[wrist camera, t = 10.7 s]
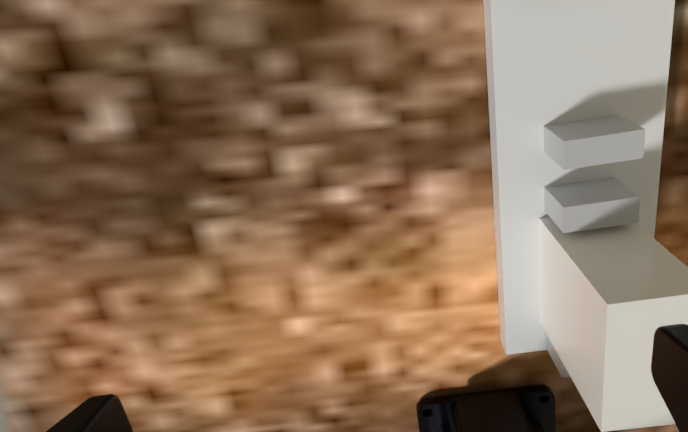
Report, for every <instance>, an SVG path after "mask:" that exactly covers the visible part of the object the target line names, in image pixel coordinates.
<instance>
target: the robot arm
mask: <svg viewBox="0 0 688 432" xmlns="http://www.w3.org/2000/svg"><path fill="white" fill-rule="evenodd" d="M651 372H652V377H653V380H654V382H655V384H656V386H657V388H658V390H659V392H660V394H661V396H662V398H663V400H664V402H665V404H666V406H667V408H668V410H669V412H670V414H671V416H672V418H673V420H674V421H675V423H676V425H677V427H678V429H679V431H680V432H688V325H686V324H675V325H667V326H660V327H658V328H657V329H656V331H655V333H654V340H653V351H652V361H651ZM543 395H545V396H544V397H541V396H543ZM416 409H417V416H418V423H419V431H420V432H555V397H554V394H553V392H552V390H551V389H550V388H549V387H548V386H545V385H539V386H531V387H522V388H514V389H505V390H497V391H488V392H480V393H471V394H463V395H454V396H446V397H438V398H429V399H423V400H421V401H419V402H418V404H417V407H416ZM425 409H430V410H428V411H424V410H425ZM46 432H133V430H132V427H131V424H130V422H129V420H128V417H127V415H126V413H125V411H124V408H123V406H122V404H121V401H120V400H119V398H118V397H117V396H116V395H113V394H108V395H100V396H94V397H91V398H89V399H87V400H86V401H85V402H83V403H82V404H81V405H80V406H78V407H77V408H76V409H74V410H73V411H72V412H71V413H69V414H68V415H67V416H65V417H64V418H63V419H62V420H60V421H59V422H58V423H57V424H55V425H54V426H53V427H51V428H50V429H49V430H48V431H46Z"/></svg>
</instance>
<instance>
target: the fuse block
mask: <svg viewBox="0 0 688 432" xmlns="http://www.w3.org/2000/svg"><path fill="white" fill-rule="evenodd" d="M483 2H484V22H485V42H486V62H487V82H488V102H489V122H490V141H491V161H492V181H493V201H494V221H495V241H496V261H497V281H498V301H499V321H500V341H501V343H502V345H503V348H504V350H505V353H506V355H509V354H517V353H525V352H534V351H542V350H547V351H548V352H549V354H550V356H551V358H552V360H553V362H554V364H555V366H556V367H557V369H558V371H559V373H560V375H561V377H562V378H565V377H570V375H569V373H568V372H567V370H566V368H565V366H564V364H563V363H562V361H561V359H560V357H559V355H558V354H557V352H556V350H555V348H554V346H553V345H552V343H551V341H550V339H549V337H548V336H547V334H546V332H545V330H544V328H543V327H542V325H541V323H540V249H539V218H544V217H550V218H551V219H552V220H553V222H554V223H555V224H556V225H557V226H558V228H559V229H560V230H561V231H562V232H563V233H568V232H576V231H583V230H590V229H597V228H605V227H612V226H619V225H626V224H634V223H637V224H638V225H639V226H640V227H641V228H643V229H644V230H645V231H646V232H647V233H648V234H650V235H651V236H652V237H653V238H654V236H655V225H656V213H657V202H658V190H659V179H660V167H661V156H662V144H663V133H664V121H665V110H666V98H667V87H668V76H669V64H670V53H671V41H672V30H673V18H674V7H675V0H483Z"/></svg>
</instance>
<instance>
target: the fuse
mask: <svg viewBox="0 0 688 432" xmlns="http://www.w3.org/2000/svg"><path fill="white" fill-rule="evenodd" d="M539 249H540V323H541V325H542V327H543V328H544V330H545V332H546V334H547V336H548V337H549V339H550V341H551V343H552V345H553V346H554V348H555V350H556V352H557V354H558V355H559V357H560V359H561V361H562V363H563V364H564V366H565V368H566V370H567V372H568V373H569V375H570V377H571V379H572V381H573V382H574V384H575V386H576V388H577V390H578V391H579V393H580V395H581V397H582V399H583V400H584V402H585V404H586V406H587V408H588V409H589V411H590V413H591V415H592V417H593V418H594V420H595V422H596V424H597V426H598V427H599V429H600V431H601V432H606V431H615V430H624V429H634V428H643V427H652V426H661V425H670V424H676V423H675V421H674V420H673V418H672V416H671V414H670V412H669V410H668V408H667V406H666V404H665V402H664V400H663V398H662V396H661V394H660V392H659V390H658V388H657V386H656V384H655V382H654V380H653V377H652V372H651V361H652V351H653V340H654V333H655V331H656V329H657V328H658V327H660V326H667V325H675V324H686V325H688V267H687V266H686V265H685V264H683V263H682V262H681V261H680V260H679V259H678V258H676V257H675V256H674V255H673V254H672V253H671V252H669V251H668V250H667V249H666V248H665V247H664V246H662V245H661V244H660V243H659V242H658V241H657V240H655V239H654V238H653V237H652V236H651V235H650V234H648V233H647V232H646V231H645V230H644V229H643V228H641V227H640V226H639V225H638V224H637V223H634V224H626V225H619V226H612V227H605V228H597V229H590V230H583V231H576V232H568V233H563V232H562V231H561V230H560V229H559V228H558V226H557V225H556V224H555V223H554V222H553V220H552V219H551V218H550V217H544V218H539Z"/></svg>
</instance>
